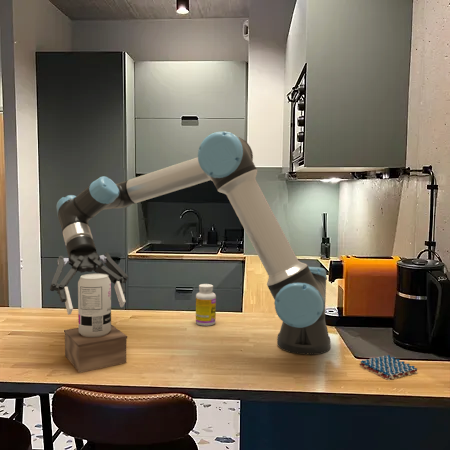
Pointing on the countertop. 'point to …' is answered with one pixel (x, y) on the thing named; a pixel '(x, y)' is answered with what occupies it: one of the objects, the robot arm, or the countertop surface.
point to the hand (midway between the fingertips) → (97, 308)
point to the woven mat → (388, 367)
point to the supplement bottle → (205, 305)
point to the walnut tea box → (95, 349)
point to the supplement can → (94, 305)
